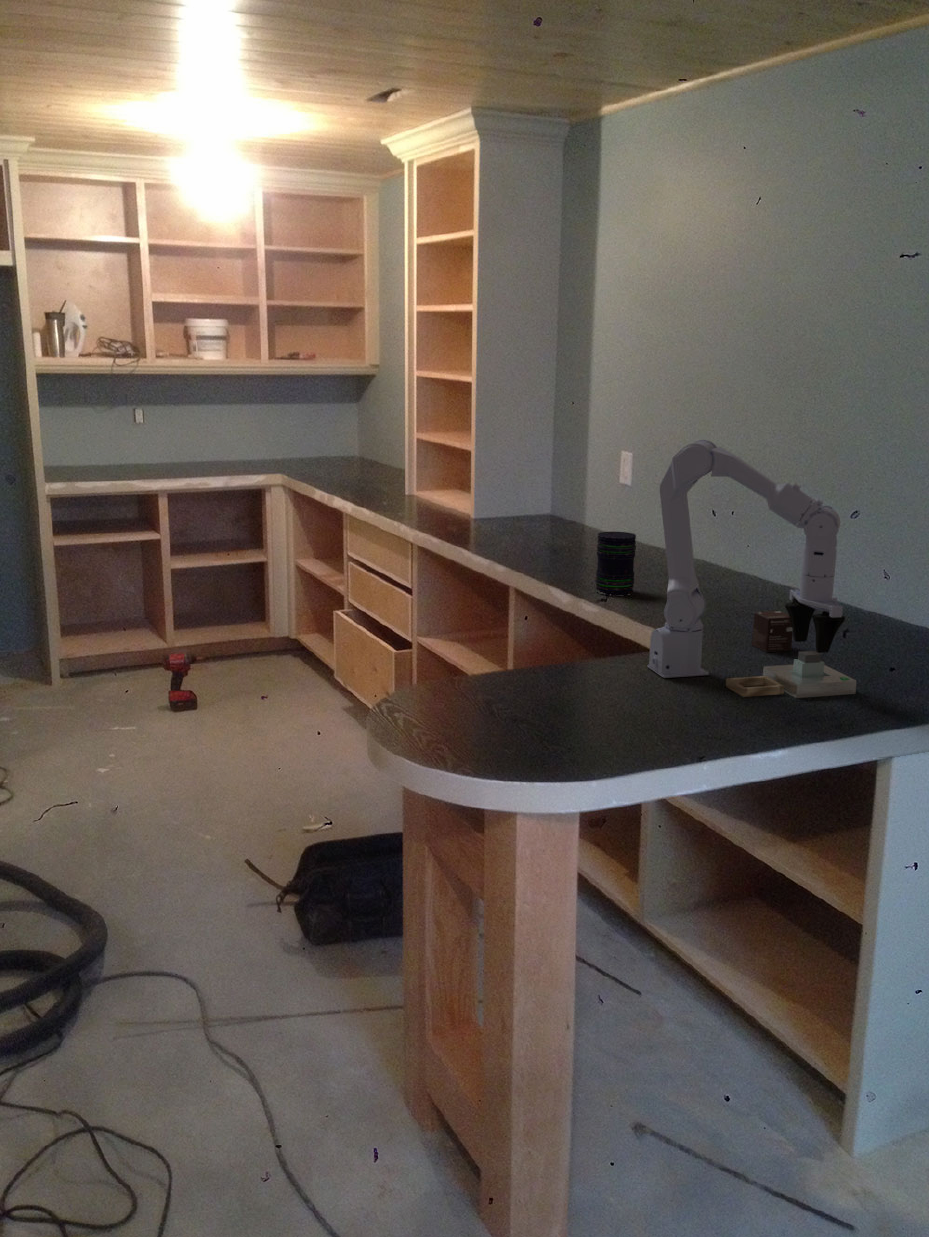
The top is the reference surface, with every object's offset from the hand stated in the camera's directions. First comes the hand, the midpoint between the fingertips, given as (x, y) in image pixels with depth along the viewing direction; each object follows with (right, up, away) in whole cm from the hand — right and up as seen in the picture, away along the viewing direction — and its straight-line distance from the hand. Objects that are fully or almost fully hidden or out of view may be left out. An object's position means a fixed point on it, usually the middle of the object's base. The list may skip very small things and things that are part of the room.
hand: (811, 646), depth 203 cm
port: (0, -7, +2) cm, 8 cm away
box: (0, -1, +28) cm, 28 cm away
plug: (0, -7, +2) cm, 8 cm away
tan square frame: (-11, -8, -1) cm, 13 cm away
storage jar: (-25, +12, +80) cm, 84 cm away
